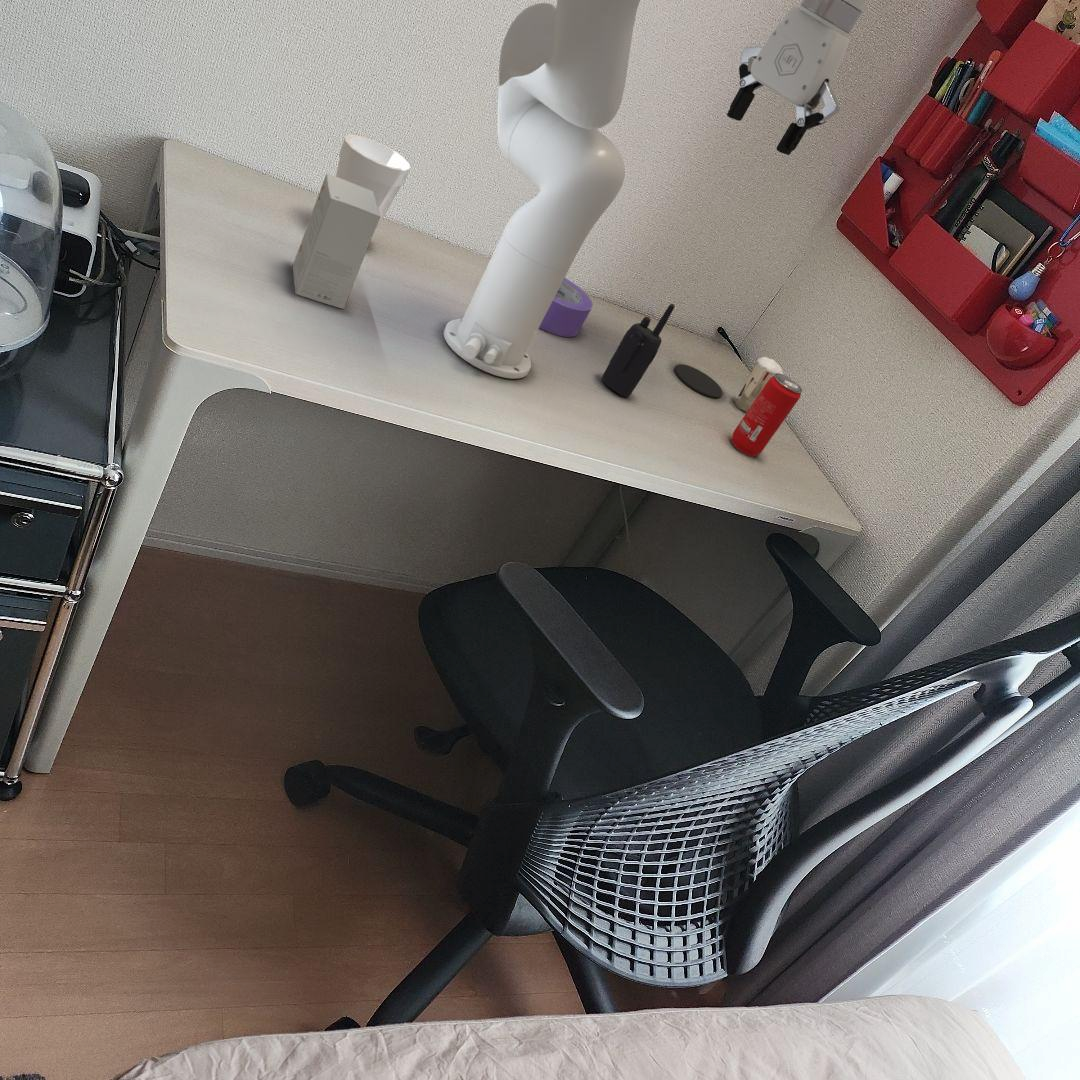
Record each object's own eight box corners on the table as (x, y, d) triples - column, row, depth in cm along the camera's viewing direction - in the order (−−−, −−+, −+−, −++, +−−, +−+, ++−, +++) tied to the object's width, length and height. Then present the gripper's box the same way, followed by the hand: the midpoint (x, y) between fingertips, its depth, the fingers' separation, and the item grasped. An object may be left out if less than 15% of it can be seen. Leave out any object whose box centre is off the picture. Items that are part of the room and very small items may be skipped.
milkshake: (759, 421, 164) (794, 371, 159) (731, 406, 164) (765, 355, 158) (758, 410, 168) (792, 361, 163) (730, 395, 167) (764, 345, 162)
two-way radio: (634, 398, 147) (686, 310, 139) (618, 401, 144) (672, 311, 136) (606, 376, 149) (657, 288, 141) (591, 378, 145) (642, 289, 138)
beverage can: (725, 432, 153) (769, 367, 147) (753, 444, 155) (797, 380, 149) (733, 451, 149) (779, 384, 143) (762, 462, 151) (808, 397, 145)
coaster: (720, 405, 162) (721, 403, 161) (671, 378, 161) (673, 376, 161) (722, 385, 169) (723, 384, 169) (676, 359, 169) (677, 357, 168)
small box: (343, 310, 125) (381, 216, 119) (294, 294, 123) (329, 197, 116) (339, 281, 131) (374, 190, 125) (291, 265, 129) (325, 171, 122)
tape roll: (567, 345, 151) (583, 316, 149) (501, 305, 151) (515, 276, 149) (585, 325, 161) (600, 298, 159) (523, 288, 161) (536, 260, 159)
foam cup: (388, 252, 147) (422, 170, 140) (350, 257, 139) (384, 170, 132) (340, 218, 149) (371, 135, 142) (300, 221, 141) (331, 133, 134)
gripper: (768, -24, 133) (700, 100, 142) (867, 35, 126) (789, 162, 134) (794, -9, 139) (727, 110, 147) (890, 48, 131) (814, 170, 140)
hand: (757, 135), depth 141 cm, fingers open, 9 cm apart
